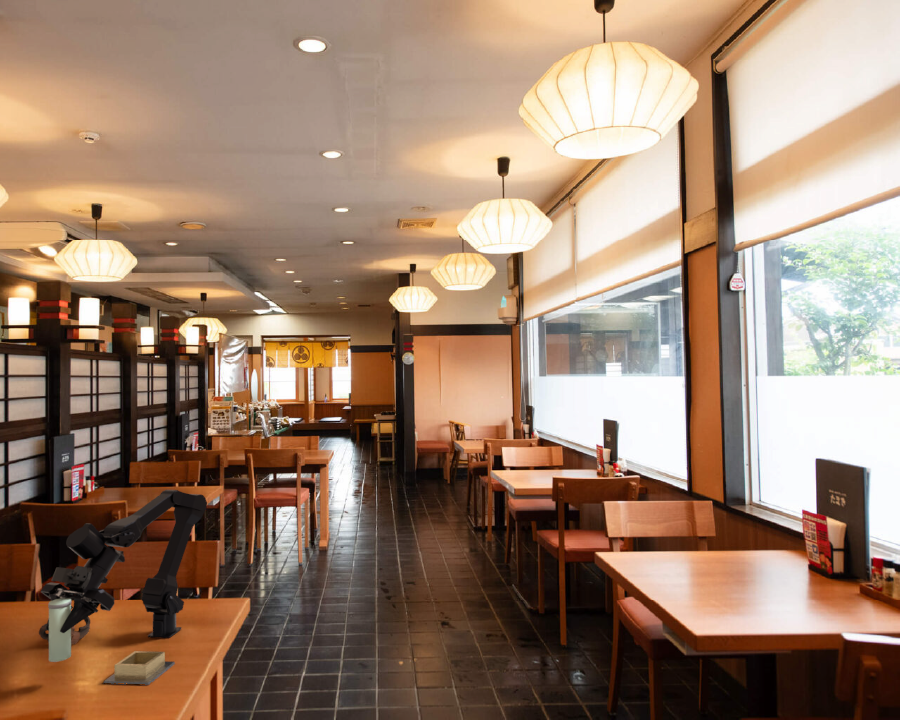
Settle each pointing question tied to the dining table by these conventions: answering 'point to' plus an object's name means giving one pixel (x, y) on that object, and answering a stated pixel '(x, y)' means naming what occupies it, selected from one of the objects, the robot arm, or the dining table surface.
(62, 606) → the pale green cylinder
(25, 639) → the dining table surface
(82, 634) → the dark double loop ring
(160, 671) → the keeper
